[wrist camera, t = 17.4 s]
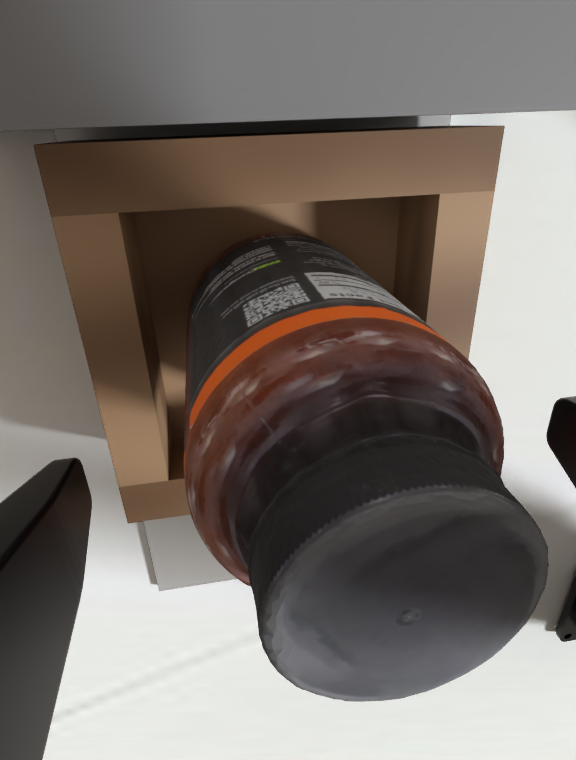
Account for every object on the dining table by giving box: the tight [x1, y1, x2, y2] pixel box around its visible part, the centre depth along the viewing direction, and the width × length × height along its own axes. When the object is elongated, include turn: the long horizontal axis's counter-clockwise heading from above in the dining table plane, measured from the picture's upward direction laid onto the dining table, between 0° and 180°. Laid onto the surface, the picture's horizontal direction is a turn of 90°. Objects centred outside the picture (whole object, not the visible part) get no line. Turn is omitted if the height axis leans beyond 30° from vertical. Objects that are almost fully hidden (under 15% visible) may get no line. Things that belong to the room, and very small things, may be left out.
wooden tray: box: [33, 126, 504, 523], centre depth 15 cm, size 11×11×4 cm
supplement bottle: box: [184, 232, 549, 701], centre depth 11 cm, size 6×6×11 cm
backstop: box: [0, 0, 576, 591], centre depth 16 cm, size 21×16×6 cm
